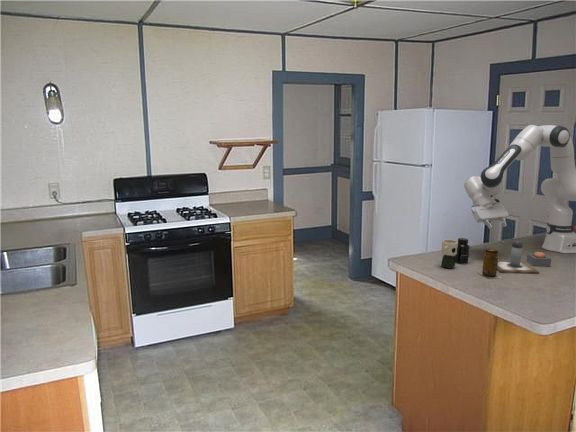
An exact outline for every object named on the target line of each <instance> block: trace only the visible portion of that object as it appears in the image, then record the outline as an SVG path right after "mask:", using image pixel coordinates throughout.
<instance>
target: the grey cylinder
mask: <svg viewBox="0 0 576 432" xmlns="http://www.w3.org/2000/svg"><path fill="white" fill-rule="evenodd" d="M523 246H524V241H522V240H518V239H517V240H516V239H515V240H514V239H513V240H511V253H510V259H509V260H510V266H513V267H520V262H522V261H521V260H522V252H523Z"/></svg>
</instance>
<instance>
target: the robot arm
mask: <svg viewBox="0 0 576 432" xmlns="http://www.w3.org/2000/svg"><path fill="white" fill-rule="evenodd" d="M538 146H541V147H544V148H545V147H549V153H550V154H549V156H550V157H549V158H550V169H551V172H553V174H555V175H556V176H557V177H551V178H546V179H544V180H543V181H542V182H541V185H540V190H541V193H542V194H543V195H544V197H545V198H546V200H547V203H548V208H549V212H548V213H549V214H548V222H547V224H546V233H545V238H544V242H543V244H542V245H541V248H542V249H544V250H547V251H551V252H558V253H560V254H561V253H562V254H576V232H575V231H576V225H575V226H574V225H573V224H572V222H573V215H574V212H573V210H572V208H571V207H570V206H569V204H568V203H567V201H570V202H576V162H575V148H574V144H573V139H572V137H571V133H570V130H569V129H568V128H567V127H565V126H563V125H554V124H542V125H541V124H538V125H535V124H529V125H527V126H526V127H524V128H523V129H522V130H521V131H520V132H519V133H518V134H517V135H516V137H514V139H513V140H512V141H511V143H510V144H509V146H508V147H507V148H506V149H505V150H504V151H503V152H502V154H501V155H500V156H499V157H497V159H496V160H495V161H494V162H493V163H492V164H491V165H489V166H487V167H486V168H484V169H483V170H482V171H481V173H480V176H478V175H472V176H470V177H468V178H467V179H466V180H465V181H464V184H463V185H464V187H463V188H464V190H465V192H466V194H467V195H468V197H469V199H471V201H472V204H473V205H471V206H470V210H471V212H472V216H473V218H474V221H475V222H477V223H478V224H479V223H483V224H484V225H485V226H487V228H488V229H489V230H491V229H493V228H494V225H493V224H492V223H490V222H495V221H500V222H501V223H500V225H501V227H502V228H505V227H507V222H506V219H508V217H509V212H508V210H507V209H506V208H505V205H503V204H502V201H501V200H500V199H499V198H496V197H495V198H494V197H492V196H494V195H496V194H499V193H501V191H502V190H503V188H504V180H503V179H504V173H505V172H506V170H507V169H508V168H509V167H510V166H511V164H512V163H513V162H515V161H525V160H527V158H529V157H530V156H531V154H532V153H533V152H534V151H535V150H536V149H537V147H538Z"/></svg>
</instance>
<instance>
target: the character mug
mask: <svg viewBox="0 0 576 432" xmlns="http://www.w3.org/2000/svg"><path fill="white" fill-rule="evenodd" d="M457 247H458V240H455V239H447V238H446V239H443V240H441V252H440V253H441V255H442V254H443V255H442V259H441V265H440V266H441V267H443V268H446V269H454V268H455V267H456V263H455V259H454V255H456V254H457Z"/></svg>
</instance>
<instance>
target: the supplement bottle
mask: <svg viewBox="0 0 576 432" xmlns="http://www.w3.org/2000/svg"><path fill="white" fill-rule="evenodd" d="M457 242H458V247H457V254H456V255H454V259H455V264H460V265H467V264H468V263H469V258H470V257H469V256H470V248H471V247H470V245H469V244H468V243H469V239H468V238H464V237H459V238H457Z"/></svg>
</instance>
